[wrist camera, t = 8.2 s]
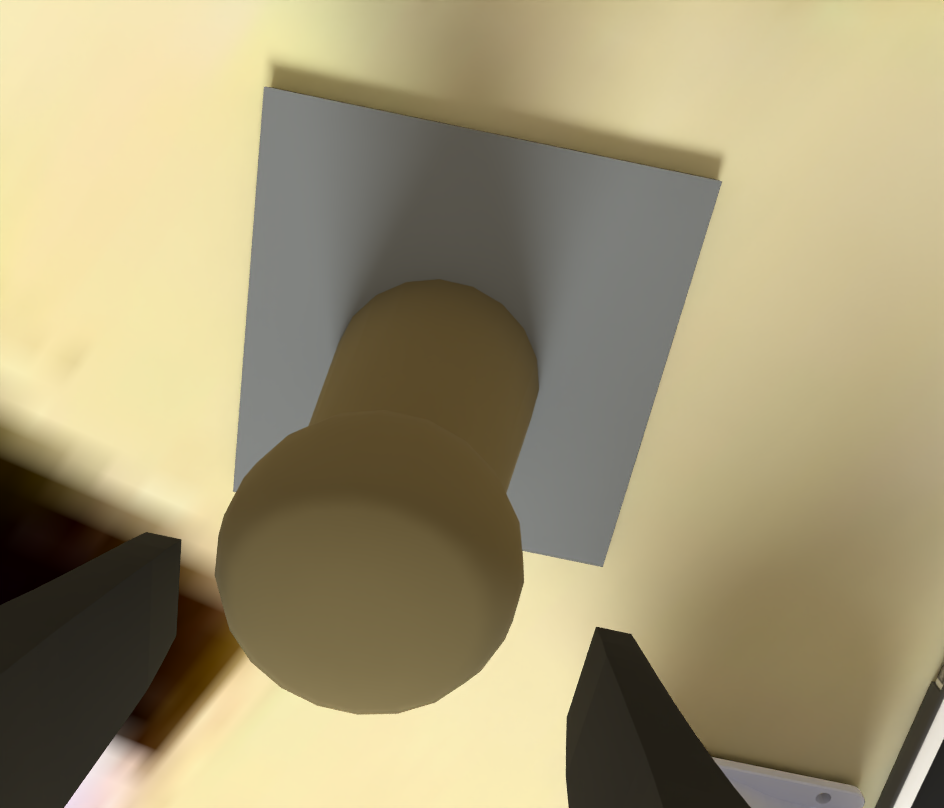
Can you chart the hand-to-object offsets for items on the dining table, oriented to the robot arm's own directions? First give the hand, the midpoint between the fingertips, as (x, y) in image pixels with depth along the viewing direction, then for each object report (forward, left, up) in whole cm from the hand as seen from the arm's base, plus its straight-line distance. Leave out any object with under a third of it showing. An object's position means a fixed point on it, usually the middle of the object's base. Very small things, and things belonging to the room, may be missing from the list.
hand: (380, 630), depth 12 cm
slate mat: (0, -2, -10) cm, 10 cm away
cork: (0, -1, -10) cm, 10 cm away
